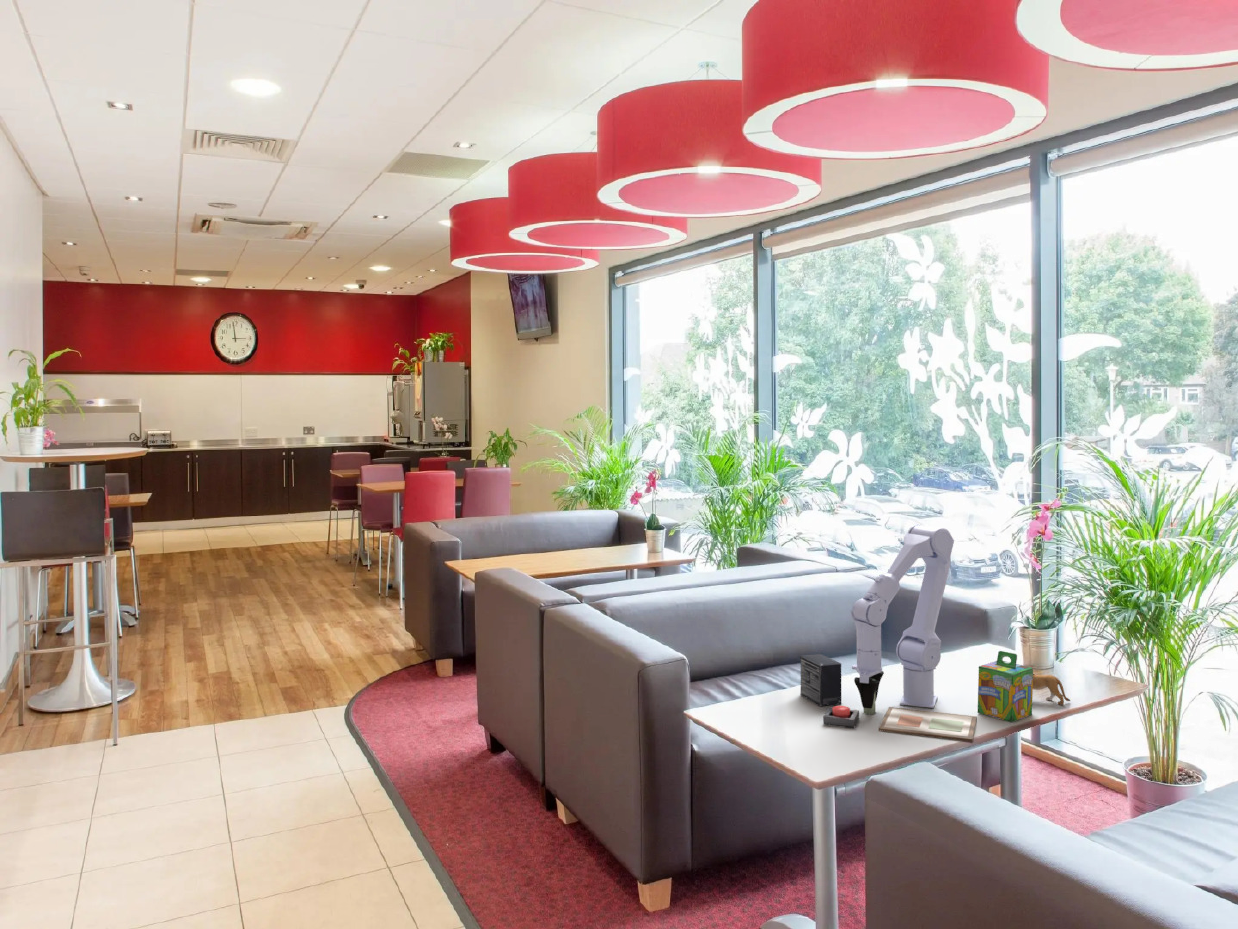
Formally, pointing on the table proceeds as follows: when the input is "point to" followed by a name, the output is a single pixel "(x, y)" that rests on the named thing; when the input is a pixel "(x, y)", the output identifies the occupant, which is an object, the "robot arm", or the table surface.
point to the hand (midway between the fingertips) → (869, 704)
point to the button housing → (841, 719)
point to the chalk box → (1005, 689)
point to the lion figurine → (1049, 686)
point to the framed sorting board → (929, 724)
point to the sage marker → (873, 710)
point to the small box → (820, 679)
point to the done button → (841, 711)
